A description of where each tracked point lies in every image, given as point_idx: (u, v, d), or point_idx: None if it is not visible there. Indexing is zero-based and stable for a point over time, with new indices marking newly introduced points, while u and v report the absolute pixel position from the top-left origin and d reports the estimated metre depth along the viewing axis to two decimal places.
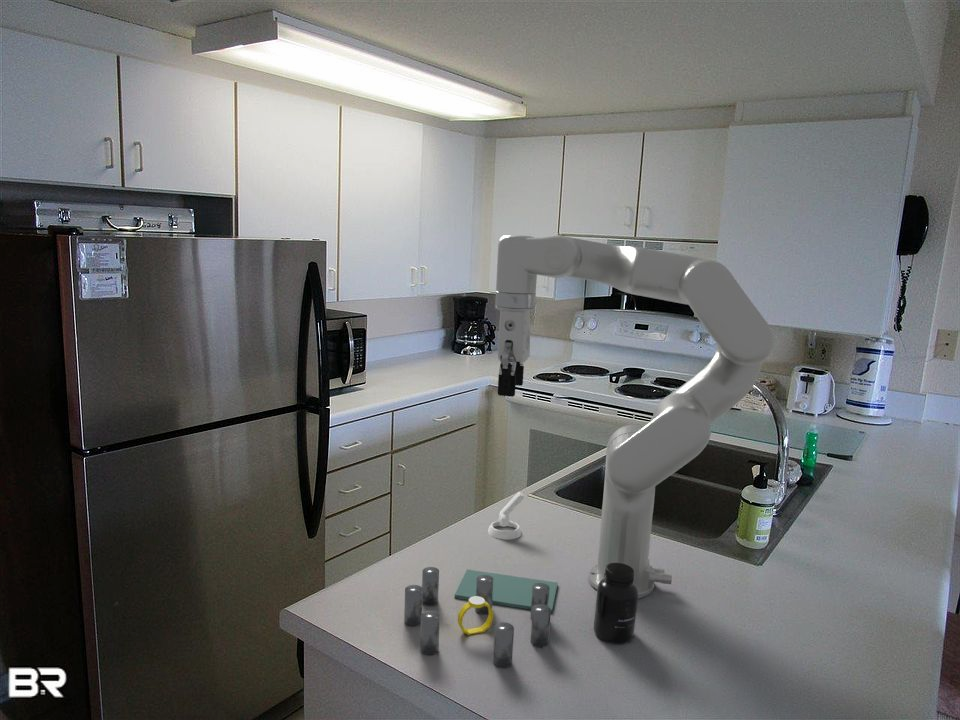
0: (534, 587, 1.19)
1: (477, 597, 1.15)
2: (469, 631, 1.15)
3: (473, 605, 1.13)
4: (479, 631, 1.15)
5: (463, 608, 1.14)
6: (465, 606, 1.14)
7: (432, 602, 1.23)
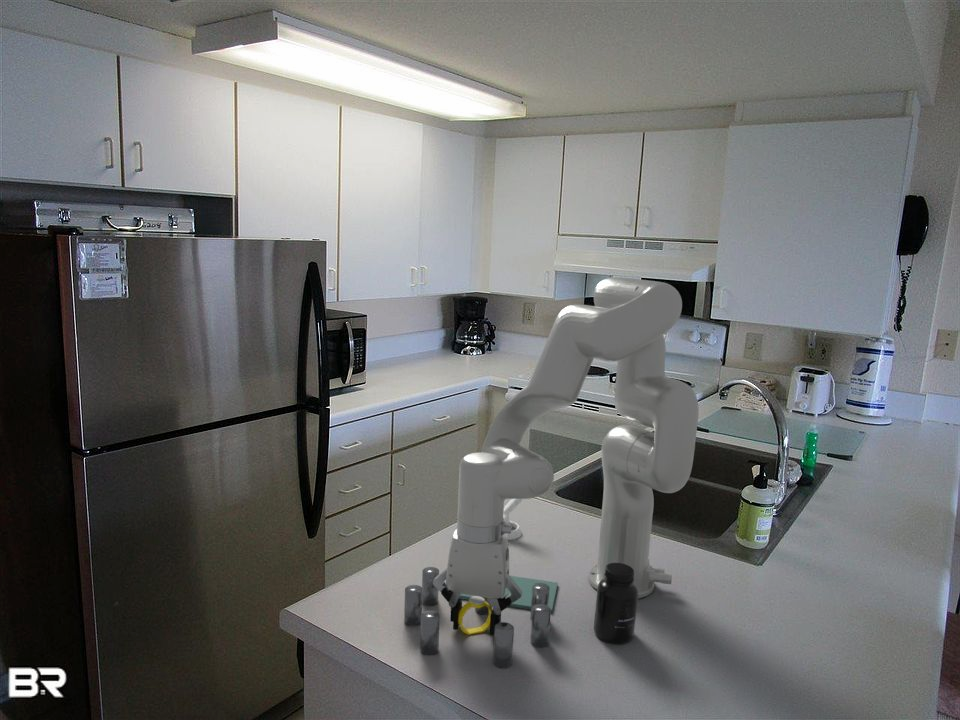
0: (534, 587, 1.19)
1: (477, 597, 1.15)
2: (469, 631, 1.15)
3: (473, 605, 1.13)
4: (479, 631, 1.15)
5: (463, 608, 1.14)
6: (465, 606, 1.14)
7: (432, 602, 1.23)
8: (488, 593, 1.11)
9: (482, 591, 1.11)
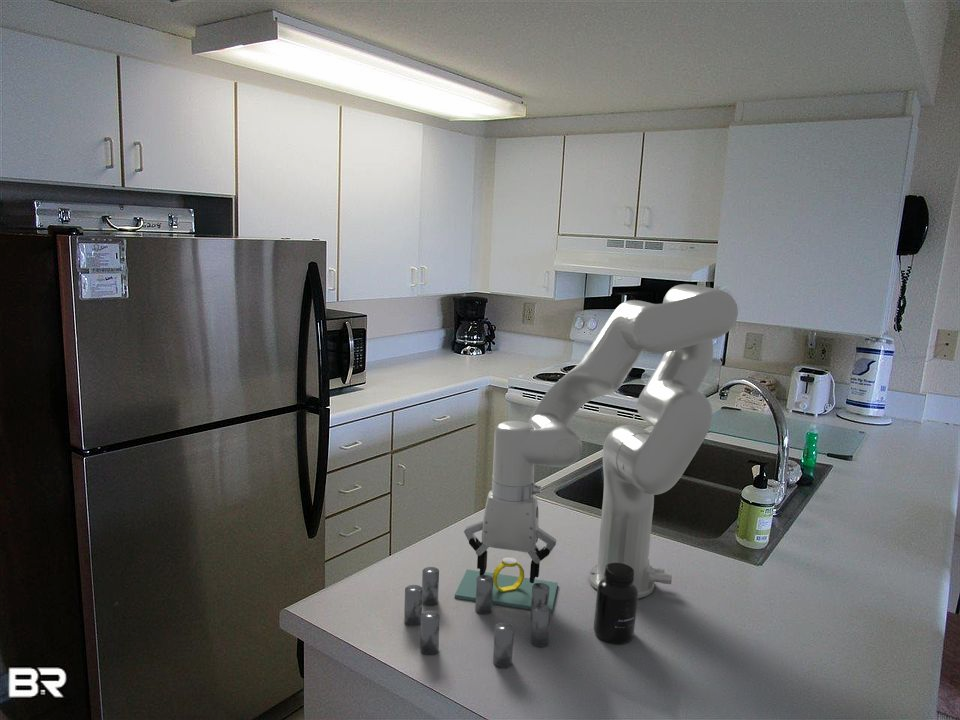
0: (534, 587, 1.19)
1: (509, 558, 1.28)
2: (503, 589, 1.28)
3: (506, 564, 1.26)
4: (512, 589, 1.28)
5: (497, 567, 1.27)
6: (499, 566, 1.27)
7: (432, 602, 1.23)
8: (520, 547, 1.24)
9: (515, 545, 1.24)
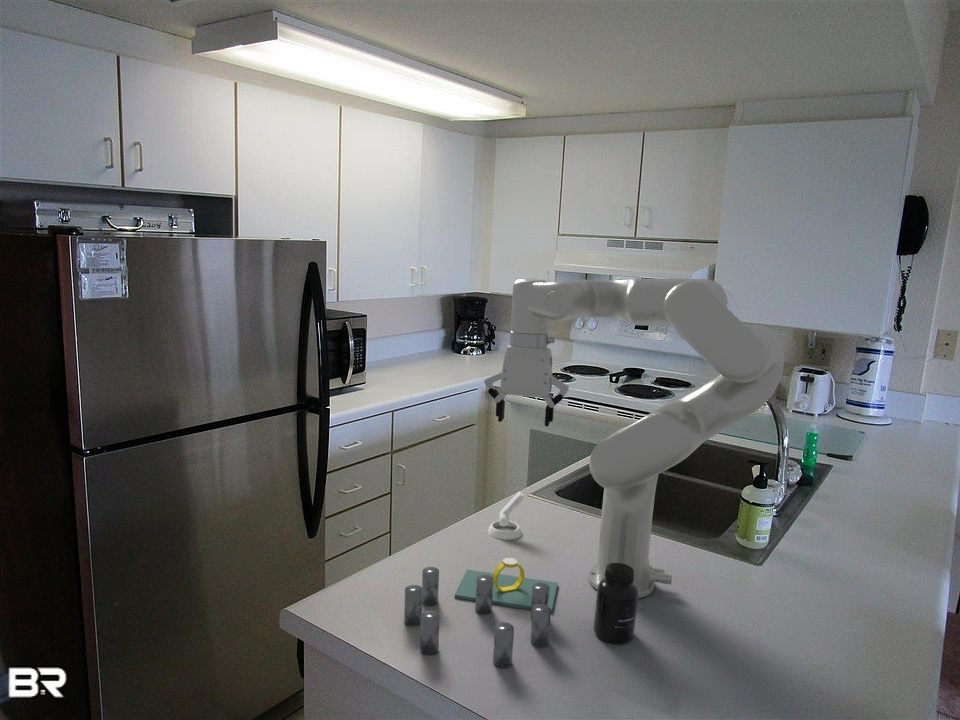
0: (534, 587, 1.19)
1: (510, 558, 1.28)
2: (503, 589, 1.28)
3: (507, 565, 1.26)
4: (512, 589, 1.28)
5: (498, 568, 1.27)
6: (499, 566, 1.27)
7: (432, 602, 1.23)
8: (535, 392, 1.37)
9: (531, 391, 1.37)
